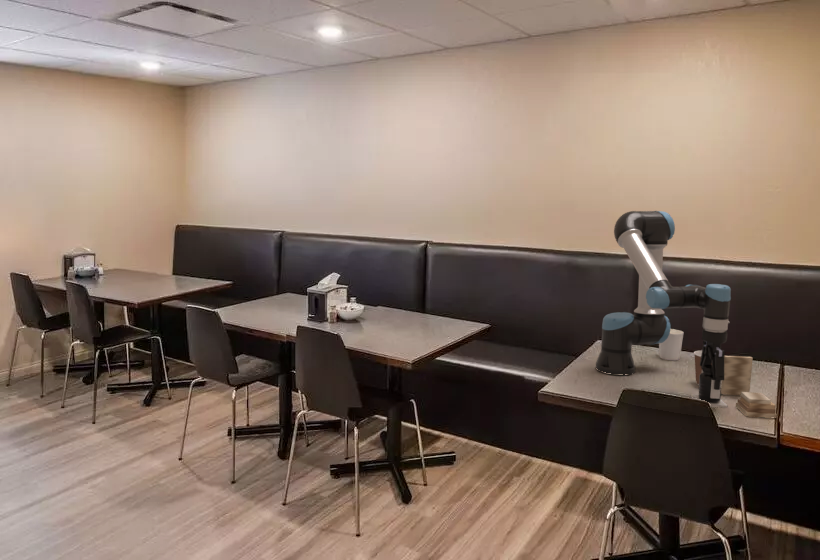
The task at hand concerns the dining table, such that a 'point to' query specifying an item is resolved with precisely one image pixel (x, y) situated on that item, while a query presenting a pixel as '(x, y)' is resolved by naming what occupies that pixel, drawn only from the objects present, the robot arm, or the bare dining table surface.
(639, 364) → the dining table surface
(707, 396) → the supplement bottle
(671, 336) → the white paper cup
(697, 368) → the coffee cup
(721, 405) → the grey pad
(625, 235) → the robot arm
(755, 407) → the set of wooden blocks
